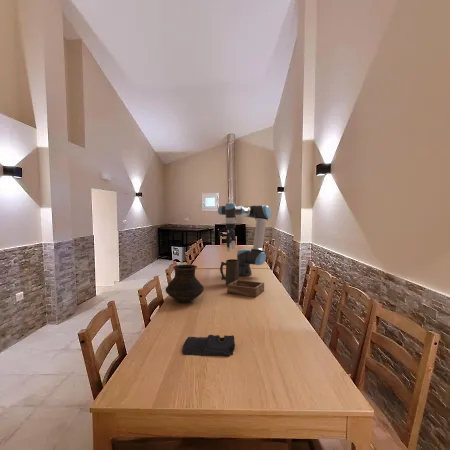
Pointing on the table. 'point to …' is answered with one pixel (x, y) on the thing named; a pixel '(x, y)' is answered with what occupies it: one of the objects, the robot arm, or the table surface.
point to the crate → (245, 288)
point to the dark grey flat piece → (209, 346)
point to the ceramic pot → (184, 284)
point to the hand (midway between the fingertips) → (230, 250)
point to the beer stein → (230, 271)
